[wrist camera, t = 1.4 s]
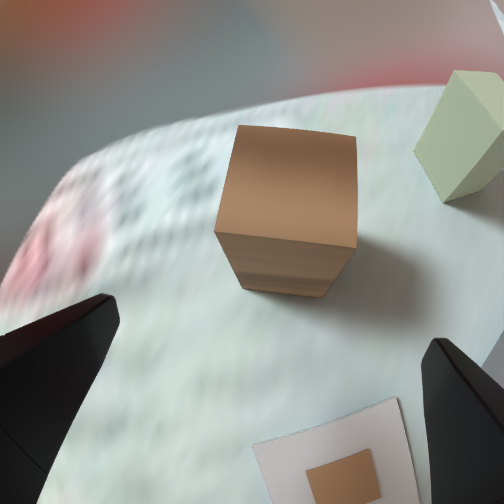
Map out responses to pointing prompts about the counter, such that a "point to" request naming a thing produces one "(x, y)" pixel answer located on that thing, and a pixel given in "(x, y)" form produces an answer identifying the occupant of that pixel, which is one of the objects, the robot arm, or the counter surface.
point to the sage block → (464, 135)
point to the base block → (496, 362)
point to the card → (342, 461)
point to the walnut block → (289, 209)
